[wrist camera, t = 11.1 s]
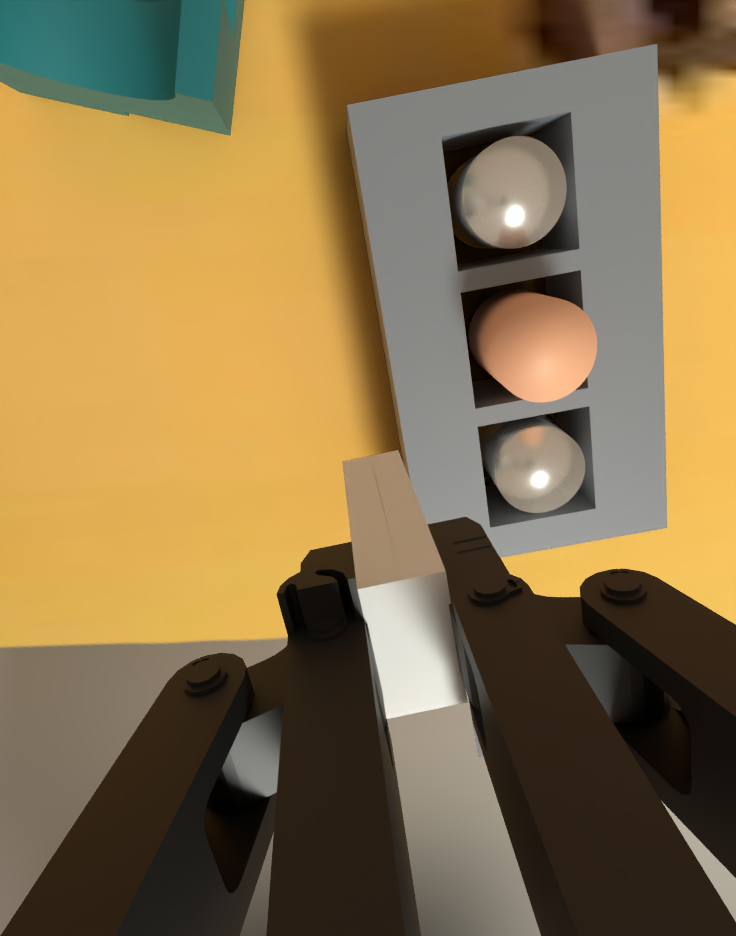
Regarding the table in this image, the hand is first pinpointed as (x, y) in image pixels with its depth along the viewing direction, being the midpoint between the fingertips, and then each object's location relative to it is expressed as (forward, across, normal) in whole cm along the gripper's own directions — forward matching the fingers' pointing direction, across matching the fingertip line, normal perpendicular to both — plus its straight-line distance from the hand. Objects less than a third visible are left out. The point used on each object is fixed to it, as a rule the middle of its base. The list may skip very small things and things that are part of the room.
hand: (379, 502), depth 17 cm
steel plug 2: (+22, +9, -7) cm, 25 cm away
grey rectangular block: (+22, +9, 0) cm, 24 cm away
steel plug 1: (+22, +9, +7) cm, 25 cm away
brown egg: (+19, +9, 0) cm, 21 cm away
